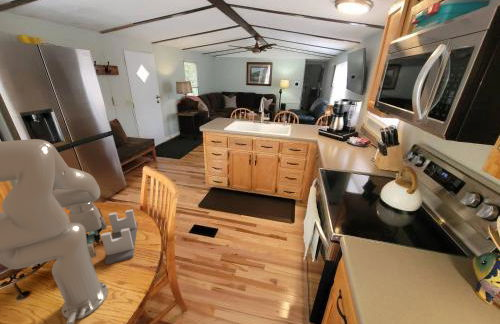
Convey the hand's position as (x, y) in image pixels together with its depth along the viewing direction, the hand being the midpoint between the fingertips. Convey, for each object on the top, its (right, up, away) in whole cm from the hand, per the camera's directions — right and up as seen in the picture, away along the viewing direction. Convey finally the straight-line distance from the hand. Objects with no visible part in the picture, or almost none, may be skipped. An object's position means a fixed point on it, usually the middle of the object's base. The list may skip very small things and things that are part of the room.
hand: (93, 241), depth 90 cm
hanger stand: (+10, -3, +7) cm, 12 cm away
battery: (-13, +2, +19) cm, 23 cm away
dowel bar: (0, 0, 0) cm, 1 cm away
